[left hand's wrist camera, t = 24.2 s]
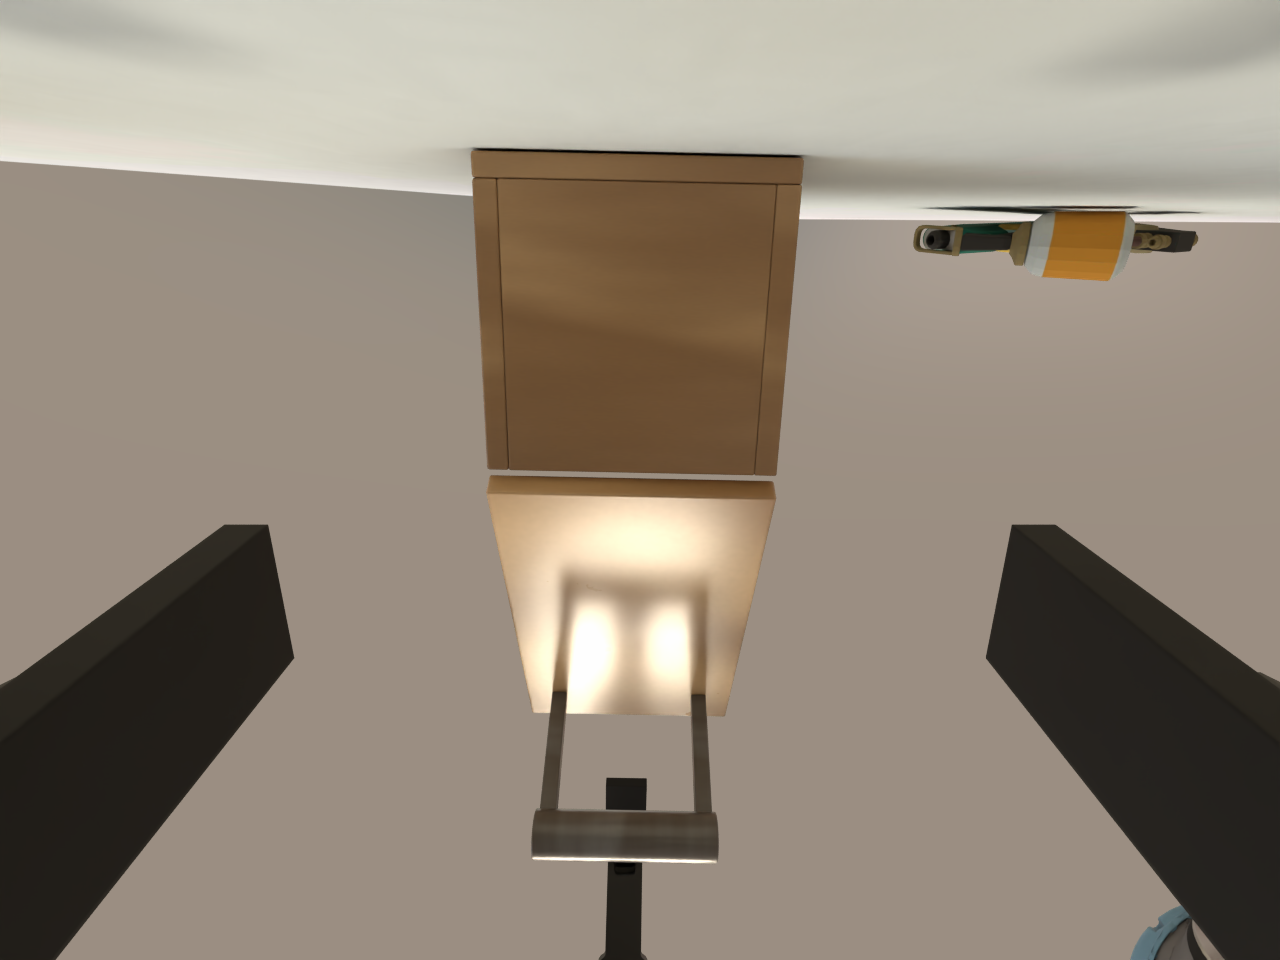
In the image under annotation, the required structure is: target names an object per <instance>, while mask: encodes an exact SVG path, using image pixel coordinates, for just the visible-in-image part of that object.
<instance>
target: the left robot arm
mask: <svg viewBox="0 0 1280 960" xmlns="http://www.w3.org/2000/svg"><path fill="white" fill-rule="evenodd" d="M293 659H294V654H293V649H292V644H291V639H290V634H289V629H288V624H287V619H286V614H285V609H284V604H283V598H282V593H281V588H280V583H279V578H278V573H277V568H276V563H275V558H274V553H273V548H272V543H271V538H270V532H269V527H268V525H224V526H222V527H221V528H219V529H218V530H217V531H215V532H214V533H213V534H211V535H210V536H209V537H207V538H206V539H204V540H203V541H202V542H200V543H199V544H198V545H196V546H195V547H193V548H192V549H191V550H189V551H188V552H187V553H185V554H184V555H183V556H181V557H180V558H178V559H177V560H176V561H174V562H173V563H172V564H170V565H169V566H167V567H166V568H165V569H163V570H162V571H161V572H159V573H158V574H157V575H155V576H154V577H152V578H151V579H150V580H148V581H147V582H146V583H144V584H143V585H142V586H140V587H139V588H137V589H136V590H135V591H133V592H132V593H131V594H129V595H128V596H126V597H125V598H124V599H122V600H121V601H120V602H118V603H117V604H116V605H114V606H113V607H111V608H110V609H109V610H107V611H106V612H105V613H103V614H102V615H100V616H99V617H98V618H96V619H95V620H94V621H92V622H91V623H90V624H88V625H87V626H85V627H84V628H83V629H81V630H80V631H79V632H77V633H76V634H75V635H73V636H72V637H70V638H69V639H68V640H66V641H65V642H64V643H62V644H61V645H59V646H58V647H57V648H55V649H54V650H53V651H51V652H50V653H49V654H47V655H46V656H44V657H43V658H42V659H40V660H39V661H38V662H36V663H35V664H33V665H32V666H31V667H29V668H28V669H27V670H25V671H24V672H23V673H21V674H20V675H18V676H17V677H15V678H13V679H11V680H9V681H7V682H5V683H3V684H1V685H0V960H56V958H57V957H58V956H59V955H60V953H61V952H62V951H63V950H64V948H65V947H66V946H67V945H68V943H69V942H70V941H71V940H72V938H73V937H74V936H75V934H76V933H77V932H78V931H79V929H80V928H81V927H82V926H83V924H84V923H85V922H86V921H87V919H88V918H89V917H90V915H91V914H92V913H93V912H94V910H95V909H96V908H97V907H98V905H99V904H100V903H101V902H102V900H103V899H104V898H105V897H106V895H107V894H108V893H109V891H110V890H111V889H112V888H113V886H114V885H115V884H116V883H117V881H118V880H119V879H120V878H121V876H122V875H123V874H124V873H125V871H126V870H127V869H128V867H129V866H130V865H131V864H132V862H133V861H134V860H135V859H136V857H137V856H138V855H139V854H140V852H141V851H142V850H143V848H144V847H145V846H146V845H147V843H148V842H149V841H150V840H151V838H152V837H153V836H154V835H155V833H156V832H157V831H158V830H159V828H160V827H161V826H162V824H163V823H164V822H165V821H166V819H167V818H168V817H169V816H170V814H171V813H172V812H173V811H174V809H175V808H176V807H177V805H178V804H179V803H180V802H181V800H182V799H183V798H184V797H185V795H186V794H187V793H188V792H189V790H190V789H191V788H192V787H193V785H194V784H195V783H196V782H197V780H198V779H199V778H200V776H201V775H202V774H203V773H204V771H205V770H206V769H207V768H208V766H209V765H210V764H211V762H212V761H213V760H214V759H215V757H216V756H217V755H218V754H219V752H220V751H221V750H222V749H223V747H224V746H225V745H226V744H227V742H228V741H229V740H230V738H231V737H232V736H233V735H234V733H235V732H236V731H237V730H238V728H239V727H240V726H241V725H242V723H243V722H244V721H245V720H246V718H247V717H248V716H249V715H250V713H251V712H252V711H253V709H254V708H255V707H256V706H257V704H258V703H259V702H260V701H261V699H262V698H263V697H264V696H265V694H266V693H267V692H268V691H269V689H270V688H271V687H272V685H273V684H274V683H275V682H276V680H277V679H278V678H279V677H280V675H281V674H282V673H283V672H284V670H285V669H286V668H287V666H288V665H289V664H290V663H291V661H292V660H293ZM986 659H987V660H988V661H989V663H990V664H991V665H992V666H993V668H994V669H995V670H996V672H997V673H998V674H999V675H1000V677H1001V678H1002V679H1003V680H1004V682H1005V683H1006V684H1007V685H1008V687H1009V688H1010V689H1011V690H1012V692H1013V693H1014V694H1015V696H1016V697H1017V698H1018V699H1019V701H1020V702H1021V703H1022V704H1023V706H1024V707H1025V708H1026V709H1027V711H1028V712H1029V713H1030V715H1031V716H1032V717H1033V718H1034V720H1035V721H1036V722H1037V723H1038V725H1039V726H1040V727H1041V728H1042V730H1043V731H1044V732H1045V733H1046V735H1047V736H1048V737H1049V739H1050V740H1051V741H1052V742H1053V744H1054V745H1055V746H1056V747H1057V749H1058V750H1059V751H1060V752H1061V754H1062V755H1063V756H1064V758H1065V759H1066V760H1067V761H1068V763H1069V764H1070V765H1071V766H1072V768H1073V769H1074V770H1075V771H1076V773H1077V774H1078V775H1079V776H1080V778H1081V779H1082V780H1083V781H1084V783H1085V784H1086V785H1087V787H1088V788H1089V789H1090V790H1091V792H1092V793H1093V794H1094V795H1095V797H1096V798H1097V799H1098V800H1099V802H1100V803H1101V804H1102V805H1103V807H1104V808H1105V809H1106V811H1107V812H1108V813H1109V814H1110V816H1111V817H1112V818H1113V819H1114V821H1115V822H1116V823H1117V824H1118V826H1119V827H1120V828H1121V830H1122V831H1123V832H1124V833H1125V835H1126V836H1127V837H1128V838H1129V840H1130V841H1131V842H1132V843H1133V845H1134V846H1135V847H1136V849H1137V850H1138V851H1139V852H1140V854H1141V855H1142V856H1143V857H1144V859H1145V860H1146V861H1147V862H1148V864H1149V865H1150V866H1151V867H1152V869H1153V870H1154V871H1155V873H1156V874H1157V875H1158V876H1159V878H1160V879H1161V880H1162V881H1163V883H1164V884H1165V885H1166V886H1167V888H1168V889H1169V890H1170V891H1171V893H1172V894H1173V895H1174V897H1175V898H1176V899H1177V900H1178V902H1179V903H1180V904H1181V905H1182V907H1183V908H1184V909H1185V910H1186V912H1187V913H1188V914H1189V916H1190V917H1191V918H1192V919H1193V921H1194V922H1195V923H1196V924H1197V926H1198V927H1199V928H1200V929H1201V931H1202V932H1203V933H1204V934H1205V936H1206V937H1207V938H1208V940H1209V941H1210V942H1211V943H1212V945H1213V946H1214V947H1215V948H1216V950H1217V951H1218V952H1219V953H1220V955H1221V956H1222V957H1223V958H1224V960H1280V682H1279V681H1277V680H1275V679H1273V678H1271V677H1269V676H1267V675H1265V674H1263V673H1260V672H1256V671H1255V670H1253V669H1252V668H1251V667H1249V666H1248V665H1246V664H1245V663H1244V662H1242V661H1241V660H1240V659H1238V658H1237V657H1236V656H1234V655H1233V654H1231V653H1230V652H1229V651H1227V650H1226V649H1225V648H1223V647H1222V646H1221V645H1219V644H1218V643H1216V642H1215V641H1214V640H1212V639H1211V638H1209V637H1208V636H1207V635H1205V634H1204V633H1203V632H1201V631H1200V630H1199V629H1197V628H1196V627H1195V626H1193V625H1192V624H1190V623H1189V622H1188V621H1186V620H1185V619H1183V618H1182V617H1181V616H1180V615H1178V614H1177V613H1175V612H1174V611H1173V610H1171V609H1170V608H1169V607H1167V606H1166V605H1164V604H1163V603H1162V602H1160V601H1159V600H1158V599H1156V598H1155V597H1153V596H1152V595H1151V594H1149V593H1148V592H1147V591H1145V590H1144V589H1143V588H1141V587H1140V586H1138V585H1137V584H1136V583H1134V582H1133V581H1132V580H1130V579H1129V578H1127V577H1126V576H1125V575H1123V574H1122V573H1121V572H1119V571H1118V570H1117V569H1115V568H1114V567H1112V566H1111V565H1110V564H1108V563H1107V562H1106V561H1104V560H1103V559H1101V558H1100V557H1099V556H1097V555H1096V554H1095V553H1093V552H1092V551H1091V550H1089V549H1088V548H1087V547H1085V546H1084V545H1082V544H1081V543H1080V542H1078V541H1077V540H1076V539H1074V538H1073V537H1071V536H1070V535H1069V534H1067V533H1066V532H1065V531H1063V530H1062V529H1061V528H1059V527H1058V526H1056V525H1012V527H1011V532H1010V537H1009V543H1008V548H1007V553H1006V558H1005V563H1004V568H1003V573H1002V578H1001V583H1000V588H999V593H998V598H997V604H996V609H995V614H994V619H993V624H992V629H991V634H990V639H989V644H988V649H987V655H986Z"/></svg>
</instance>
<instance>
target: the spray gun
mask: <svg viewBox="0 0 1280 960" xmlns="http://www.w3.org/2000/svg"><path fill="white" fill-rule="evenodd" d="M925 228H927V230H926V232H925V233H924V236H923V243H924V246H925V247H926V248H927V249H923V248H921V246H920V236H921V232H922V230H923V229H925ZM1197 241H1198V236H1197V235H1196V232H1195V231H1181V230H1173V229H1165V228H1158V226H1155V225H1148V224H1140V223H1134V220H1133V219H1132V218H1131V217H1130V215H1129V214H1128V213H1127V212H1125V211H1054V212H1050V213H1046V214H1043V215H1041V216H1040V217H1039V218H1038V219H1036V220H1035V221H1029V222H1009V223H984V224H960V225H948V226H934V225H922V226H919V227H918V228H917V229H916V231H915V234H914V242H913V243H914V248H915V250H917V251H919V252H927V253H936V254H946V255H952V256H959V254H961V253H976V252H991V251H1000V252H1009V254H1010V255H1011V257H1012V259H1013V262H1014V265H1020V266H1022V265H1023V263H1024V266H1025V267H1026V268H1027V270H1028V271H1029V272H1030V273H1031V274H1034V275H1037V276H1040V277H1051V278H1067V279H1083V280H1100V281H1109V280H1111V279H1113V278H1114V277H1116V276H1117V275H1118V274H1120V273H1121V272H1122V271H1123V269H1124V267H1125V265H1126V262H1127V260H1128V257H1129V254H1130V252H1131V253H1150V252H1152V251H1161V252H1186V251H1190V250H1191V248H1192V246H1194V245H1195V244H1196V243H1197ZM932 249H936V250H932Z"/></svg>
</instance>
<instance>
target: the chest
mask: <svg viewBox="0 0 1280 960" xmlns="http://www.w3.org/2000/svg"><path fill="white" fill-rule="evenodd" d="M803 165H804V160H803V159H802V158H790V157H745V156H701V155H656V154H612V153H567V152H523V151H478V150H474V151H472V152H471V167H472V176H473V177H475V178H474V179H473V180H472V186H473V205H474V224H475V243H476V262H477V281H478V300H479V320H480V339H481V358H482V377H483V396H484V415H485V434H486V454H487V467H488V469H500V470H507V469H510V470H535V471H582V472H630V473H677V474H724V475H754V474H755V475H767V476H775V475H776V473H777V461H778V450H779V439H780V428H781V417H782V405H783V394H784V383H785V372H786V360H787V349H788V338H789V326H790V315H791V304H792V293H793V281H794V270H795V259H796V247H797V236H798V225H799V214H800V202H801V191H802V186H801V185H800V184H801V183H802V176H803Z"/></svg>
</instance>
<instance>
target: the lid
mask: <svg viewBox="0 0 1280 960" xmlns="http://www.w3.org/2000/svg"><path fill="white" fill-rule="evenodd" d="M486 494H487V498H488V503H489V508H490V513H491V517H492V522H493V527H494V532H495V536H496V541H497V546H498V551H499V555H500V560H501V565H502V570H503V574H504V579H505V584H506V589H507V593H508V598H509V603H510V608H511V612H512V617H513V622H514V627H515V631H516V636H517V641H518V646H519V650H520V655H521V660H522V665H523V669H524V674H525V679H526V684H527V688H528V693H529V698H530V702H531V707H532V712H534V713H550V718H549V728H548V737H547V747H546V756H545V766H544V775H543V785H542V794H541V804H540V808H537V809H536V811H535V814H534V820H533V828H532V840H531V854H532V860H534V861H586V862H637V863H689V864H716V863H717V861H718V851H719V838H718V822H717V815H716V813H715V812H712V805H711V786H710V767H709V748H708V729H707V716H725V713H726V709H727V705H728V701H729V697H730V692H731V688H732V684H733V680H734V675H735V671H736V667H737V663H738V658H739V654H740V650H741V646H742V641H743V637H744V633H745V629H746V624H747V620H748V616H749V612H750V607H751V603H752V599H753V594H754V590H755V586H756V582H757V578H758V573H759V569H760V565H761V561H762V556H763V552H764V548H765V544H766V539H767V535H768V531H769V527H770V522H771V518H772V514H773V509H774V505H775V501H776V494H775V488H774V483H773V482H772V481H735V480H688V479H640V478H593V477H545V476H498V475H491V476H490V478H489V482H488V487H487V491H486ZM566 713H579V714H629V715H678V716H691V732H692V759H693V786H694V811H647V810H596V809H558V799H559V788H560V776H561V765H562V754H563V743H564V731H565V720H566Z"/></svg>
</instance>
